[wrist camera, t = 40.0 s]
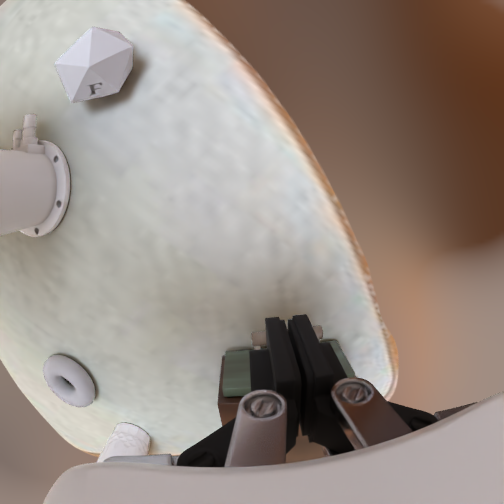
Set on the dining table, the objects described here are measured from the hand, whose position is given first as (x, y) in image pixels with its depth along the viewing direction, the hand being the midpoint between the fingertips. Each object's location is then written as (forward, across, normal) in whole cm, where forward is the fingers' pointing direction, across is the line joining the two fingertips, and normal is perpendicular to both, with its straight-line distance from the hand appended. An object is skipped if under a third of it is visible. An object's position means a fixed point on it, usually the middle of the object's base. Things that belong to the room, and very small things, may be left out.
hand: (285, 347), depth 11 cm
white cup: (+19, +24, +32) cm, 44 cm away
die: (+19, +16, -22) cm, 33 cm away
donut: (+19, +31, +19) cm, 41 cm away
